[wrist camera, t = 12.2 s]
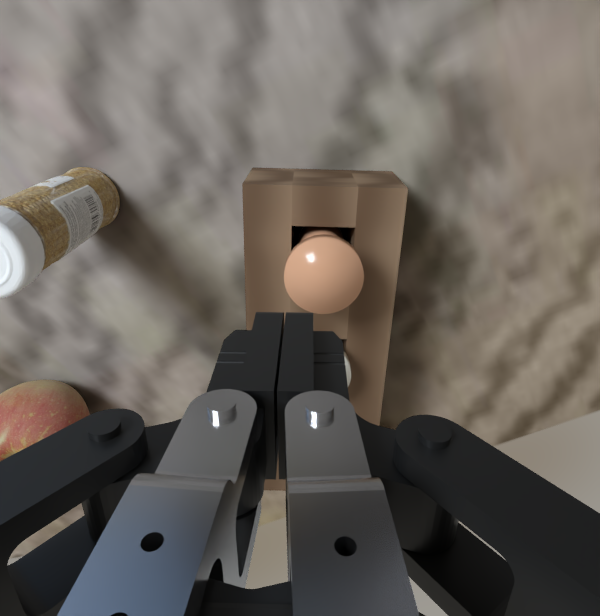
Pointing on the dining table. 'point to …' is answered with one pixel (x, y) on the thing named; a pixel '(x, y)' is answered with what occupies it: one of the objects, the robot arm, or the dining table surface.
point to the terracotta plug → (323, 271)
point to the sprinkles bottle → (51, 223)
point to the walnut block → (359, 233)
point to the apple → (36, 413)
